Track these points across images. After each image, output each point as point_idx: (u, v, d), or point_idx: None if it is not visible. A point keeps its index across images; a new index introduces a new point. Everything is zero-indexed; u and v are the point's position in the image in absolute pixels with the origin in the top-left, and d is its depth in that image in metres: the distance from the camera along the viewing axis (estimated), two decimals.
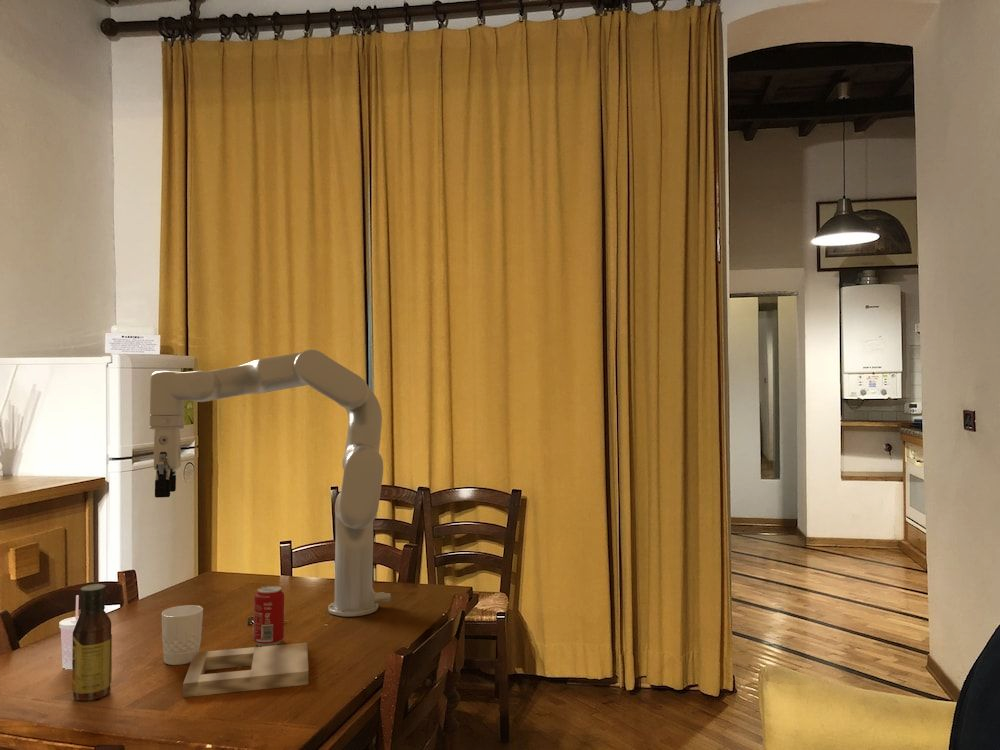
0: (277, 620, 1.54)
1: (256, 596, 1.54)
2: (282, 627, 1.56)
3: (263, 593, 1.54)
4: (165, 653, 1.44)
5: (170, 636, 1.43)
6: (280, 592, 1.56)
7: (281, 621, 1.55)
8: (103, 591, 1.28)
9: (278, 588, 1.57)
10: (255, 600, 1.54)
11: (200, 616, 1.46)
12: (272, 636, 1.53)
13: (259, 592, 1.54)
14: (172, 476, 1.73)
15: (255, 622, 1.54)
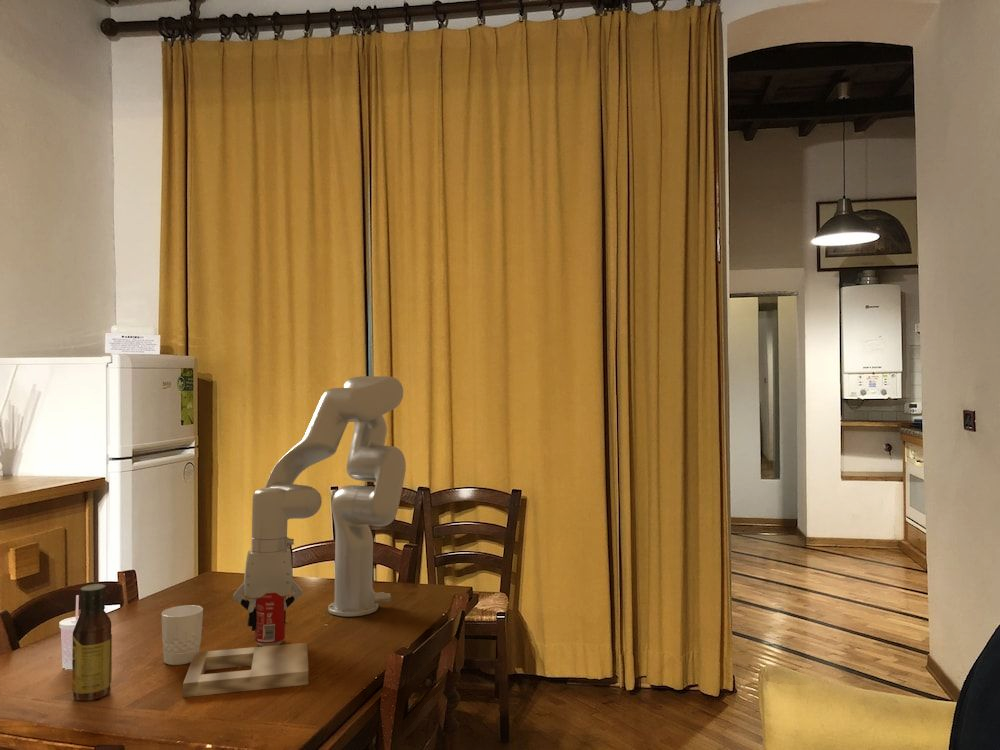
0: (278, 620, 1.54)
1: None
2: (283, 627, 1.56)
3: None
4: (165, 653, 1.44)
5: (170, 636, 1.43)
6: None
7: (283, 621, 1.55)
8: (103, 591, 1.28)
9: None
10: (257, 600, 1.54)
11: (200, 616, 1.46)
12: (273, 636, 1.53)
13: None
14: (255, 610, 1.56)
15: (257, 622, 1.54)
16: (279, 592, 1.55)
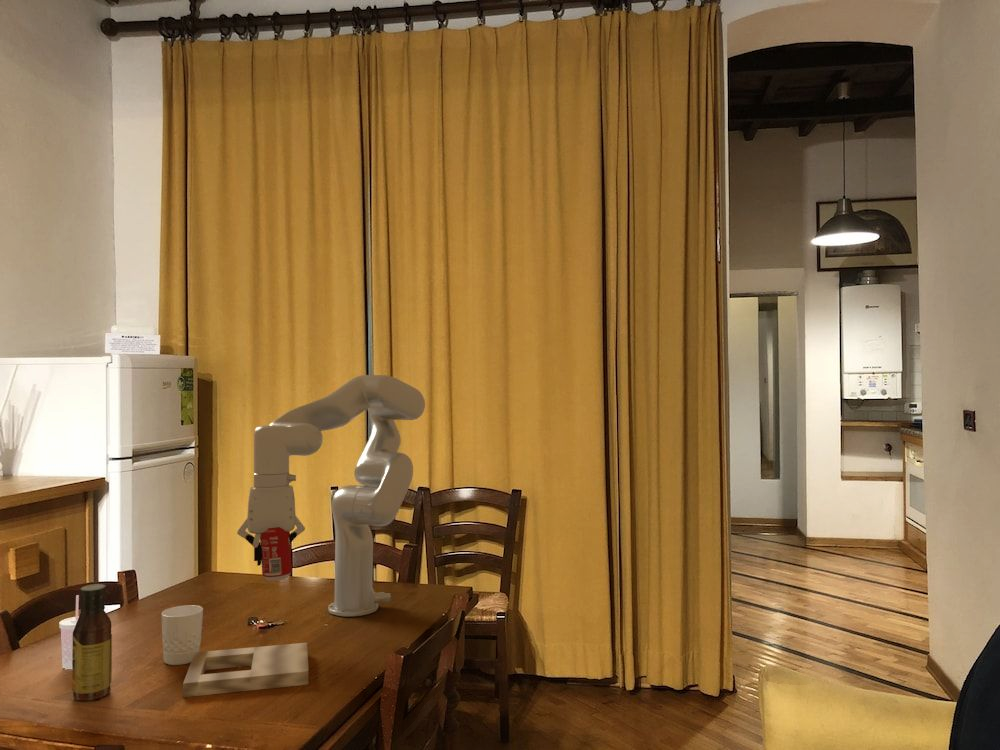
0: (284, 554, 1.55)
1: None
2: (290, 561, 1.57)
3: (268, 528, 1.55)
4: (165, 653, 1.44)
5: (170, 636, 1.43)
6: None
7: (288, 555, 1.56)
8: (103, 591, 1.28)
9: None
10: (261, 535, 1.55)
11: (200, 616, 1.46)
12: (280, 569, 1.55)
13: None
14: (260, 546, 1.57)
15: (262, 557, 1.55)
16: (282, 527, 1.56)
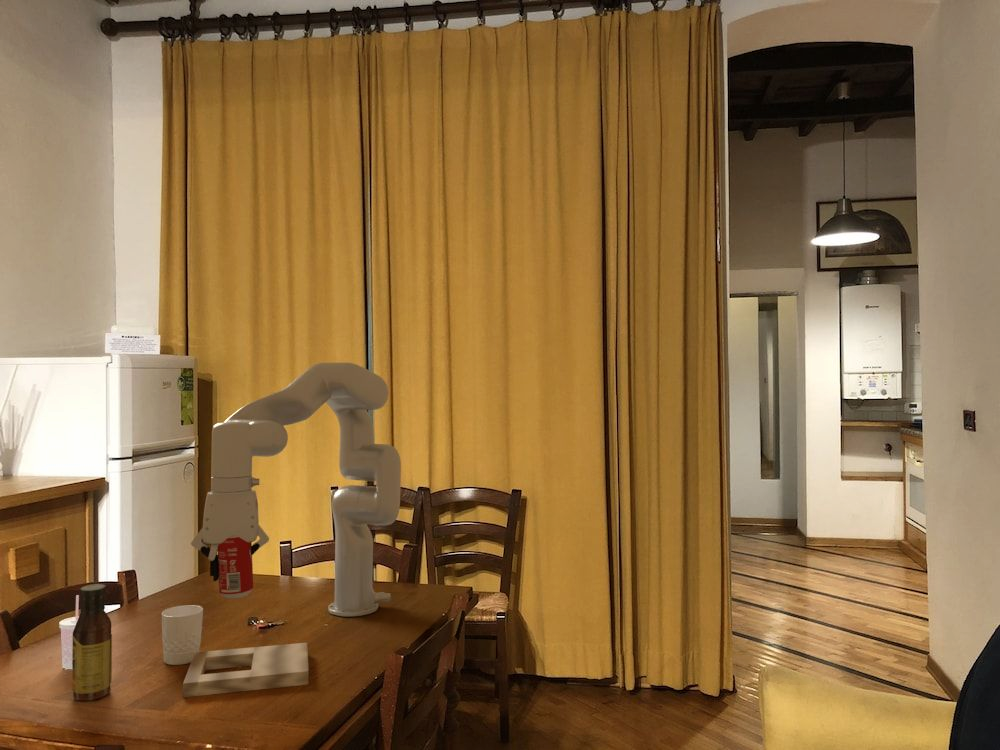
0: (244, 568, 1.37)
1: None
2: (251, 576, 1.39)
3: None
4: (165, 653, 1.44)
5: (170, 636, 1.43)
6: None
7: (249, 569, 1.38)
8: (103, 591, 1.28)
9: None
10: (218, 546, 1.37)
11: (200, 616, 1.46)
12: (239, 585, 1.36)
13: None
14: None
15: (219, 571, 1.37)
16: (242, 538, 1.37)
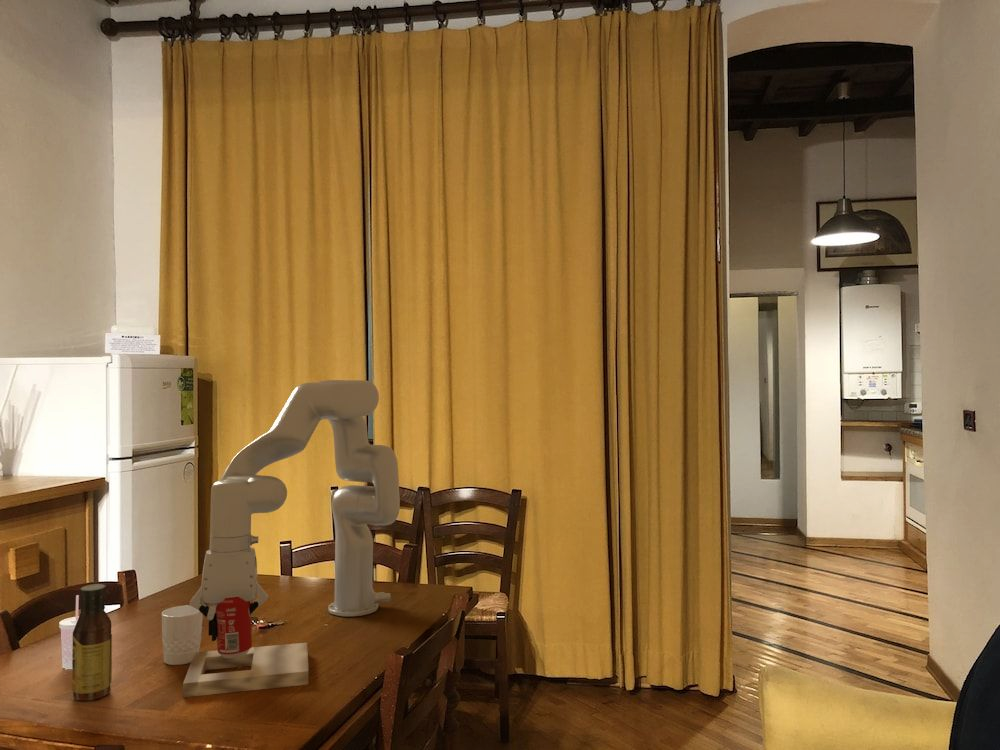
0: (242, 627, 1.36)
1: None
2: (249, 634, 1.38)
3: (225, 598, 1.36)
4: (165, 653, 1.44)
5: (170, 636, 1.43)
6: None
7: (248, 628, 1.38)
8: (103, 591, 1.28)
9: None
10: (217, 606, 1.36)
11: (200, 616, 1.46)
12: (237, 645, 1.36)
13: None
14: None
15: (218, 631, 1.36)
16: (241, 597, 1.37)
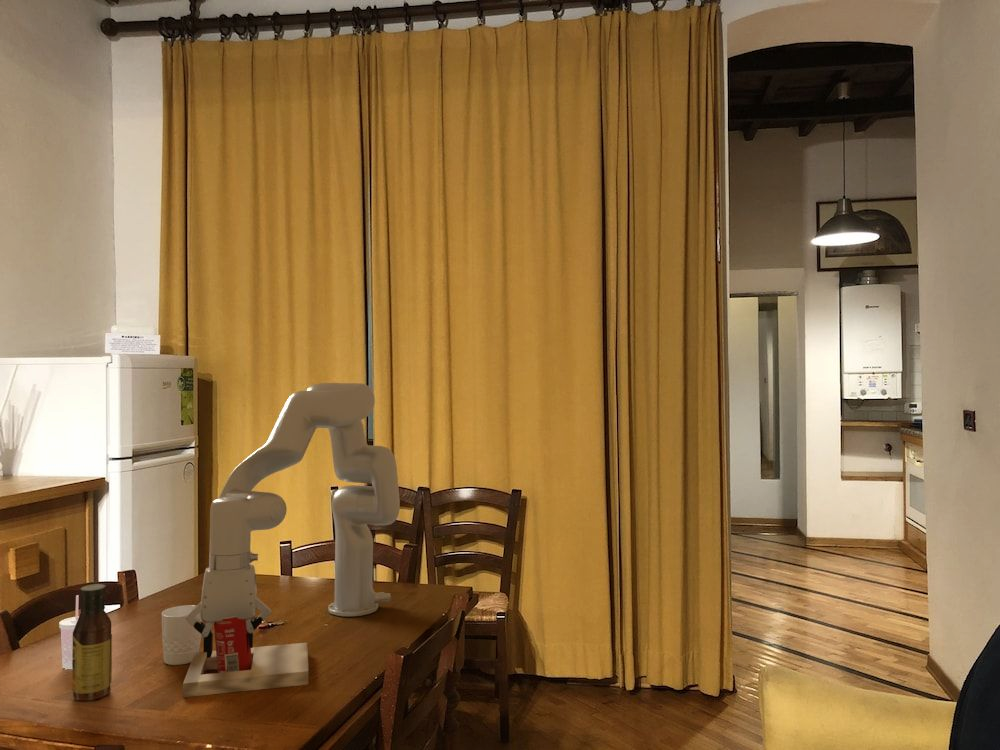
0: (242, 648, 1.36)
1: (216, 623, 1.36)
2: (249, 654, 1.38)
3: (223, 619, 1.36)
4: (165, 653, 1.44)
5: (170, 636, 1.43)
6: None
7: None
8: (103, 591, 1.28)
9: None
10: (215, 627, 1.36)
11: (200, 616, 1.46)
12: (237, 666, 1.36)
13: None
14: (212, 634, 1.38)
15: (217, 652, 1.36)
16: (241, 615, 1.37)
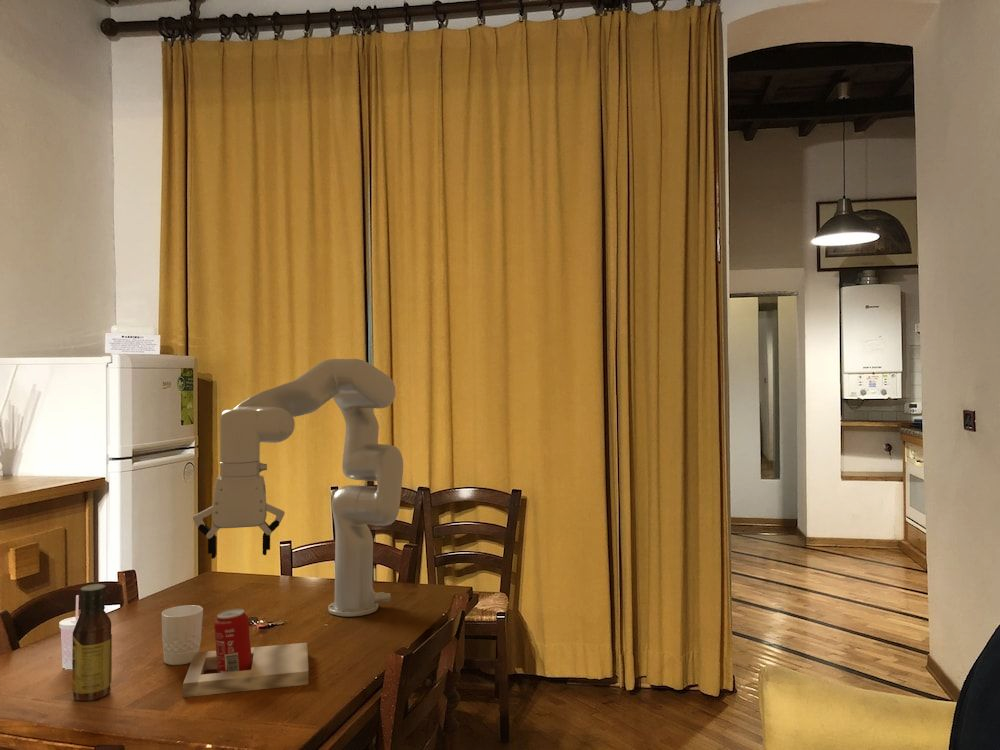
0: (242, 648, 1.36)
1: (216, 623, 1.36)
2: (249, 654, 1.38)
3: (223, 619, 1.36)
4: (165, 653, 1.44)
5: (170, 636, 1.43)
6: (243, 615, 1.38)
7: (247, 648, 1.38)
8: (103, 591, 1.28)
9: (241, 611, 1.39)
10: (215, 627, 1.36)
11: (200, 616, 1.46)
12: (237, 666, 1.36)
13: (219, 618, 1.36)
14: (216, 537, 1.42)
15: (217, 652, 1.36)
16: (251, 521, 1.41)
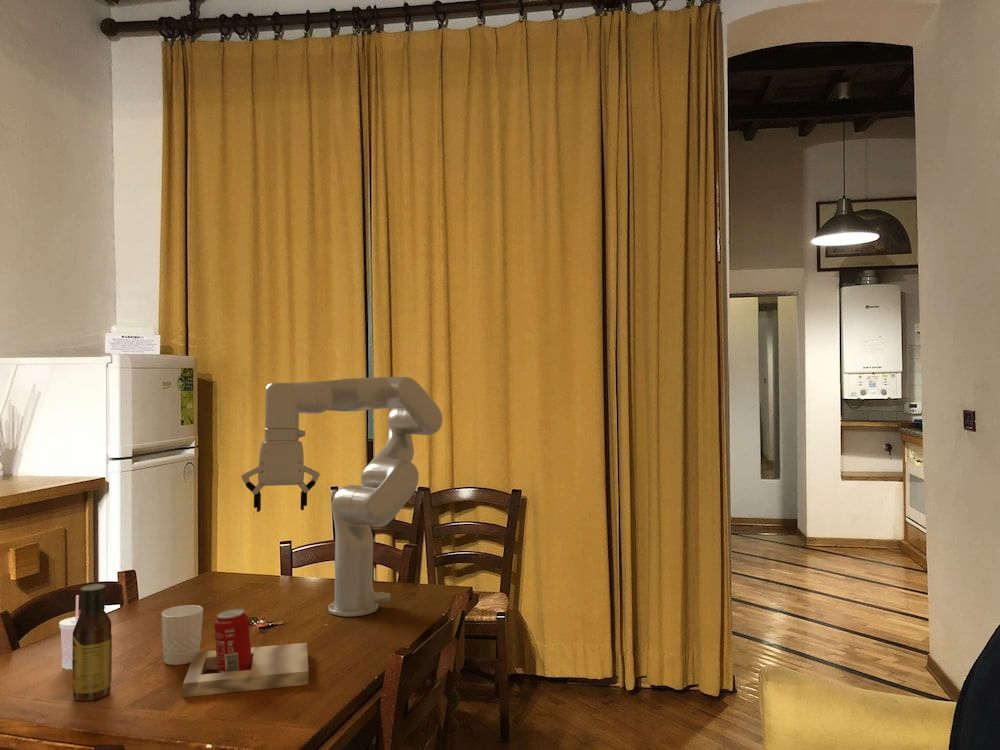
0: (242, 648, 1.36)
1: (216, 623, 1.36)
2: (249, 654, 1.38)
3: (223, 619, 1.36)
4: (165, 653, 1.44)
5: (170, 636, 1.43)
6: (243, 615, 1.38)
7: (247, 648, 1.38)
8: (103, 591, 1.28)
9: (241, 611, 1.39)
10: (215, 627, 1.36)
11: (200, 616, 1.46)
12: (237, 666, 1.36)
13: (219, 618, 1.36)
14: (260, 494, 1.63)
15: (217, 652, 1.36)
16: (291, 480, 1.62)
